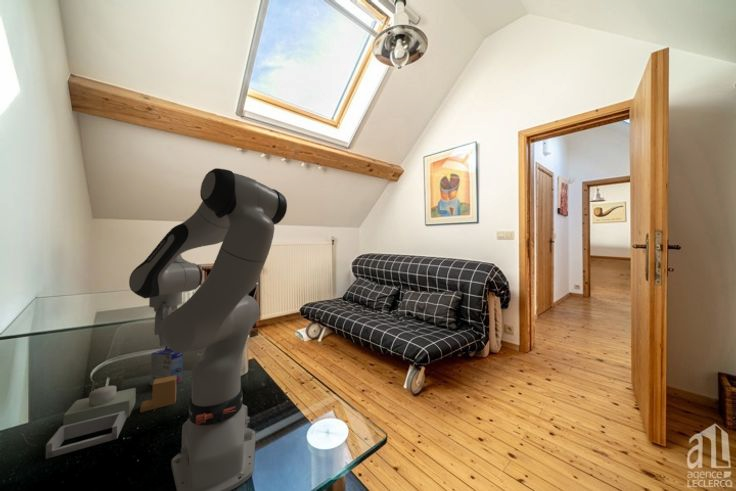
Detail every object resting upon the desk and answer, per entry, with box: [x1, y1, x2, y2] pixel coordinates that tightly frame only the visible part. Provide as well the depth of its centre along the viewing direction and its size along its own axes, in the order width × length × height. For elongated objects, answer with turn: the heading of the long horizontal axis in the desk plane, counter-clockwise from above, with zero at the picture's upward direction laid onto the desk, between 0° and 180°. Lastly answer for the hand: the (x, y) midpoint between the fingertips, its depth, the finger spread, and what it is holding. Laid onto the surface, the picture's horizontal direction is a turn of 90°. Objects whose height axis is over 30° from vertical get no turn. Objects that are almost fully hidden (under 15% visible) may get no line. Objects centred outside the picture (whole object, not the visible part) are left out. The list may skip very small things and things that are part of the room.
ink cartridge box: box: [149, 345, 184, 386], centre depth 103 cm, size 10×6×14 cm, turn 78°
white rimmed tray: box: [45, 385, 137, 460], centre depth 77 cm, size 20×14×8 cm
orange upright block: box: [139, 375, 177, 413], centre depth 88 cm, size 4×9×8 cm, turn 122°
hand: (165, 340), depth 89 cm, fingers open, 8 cm apart
